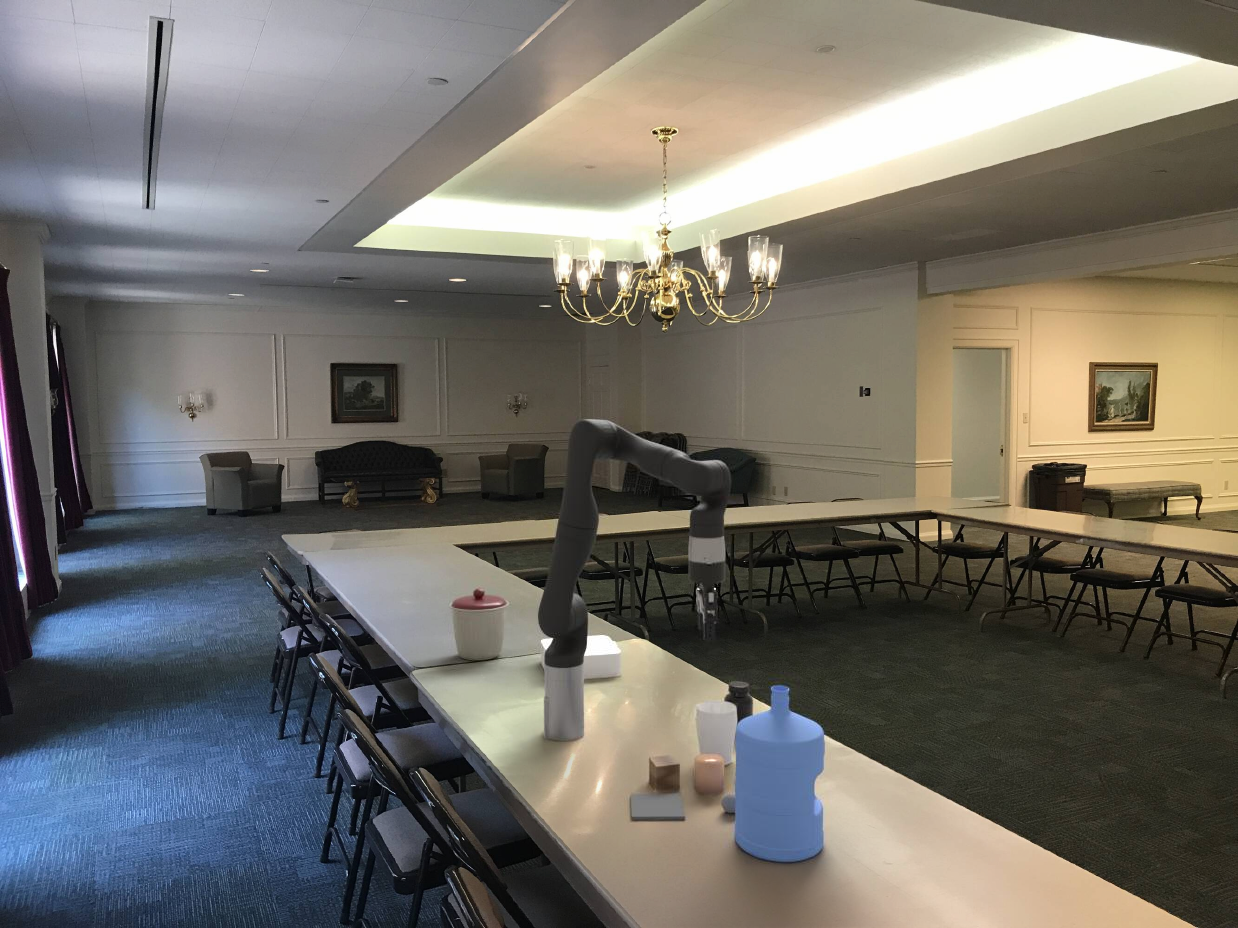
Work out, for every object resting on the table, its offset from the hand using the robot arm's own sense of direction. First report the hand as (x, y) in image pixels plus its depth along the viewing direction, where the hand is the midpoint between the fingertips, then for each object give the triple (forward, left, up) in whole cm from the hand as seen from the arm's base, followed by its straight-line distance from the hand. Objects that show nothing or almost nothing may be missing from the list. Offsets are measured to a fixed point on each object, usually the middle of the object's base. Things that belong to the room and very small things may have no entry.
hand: (706, 635), depth 188 cm
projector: (-29, +79, -31) cm, 90 cm away
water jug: (+10, -28, -30) cm, 42 cm away
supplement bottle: (+10, +25, -30) cm, 41 cm away
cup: (+3, +9, -30) cm, 32 cm away
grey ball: (+3, -16, -30) cm, 34 cm away
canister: (-61, +92, -30) cm, 114 cm away
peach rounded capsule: (0, -5, -30) cm, 31 cm away
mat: (-11, -14, -30) cm, 35 cm away
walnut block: (-9, -3, -30) cm, 32 cm away
